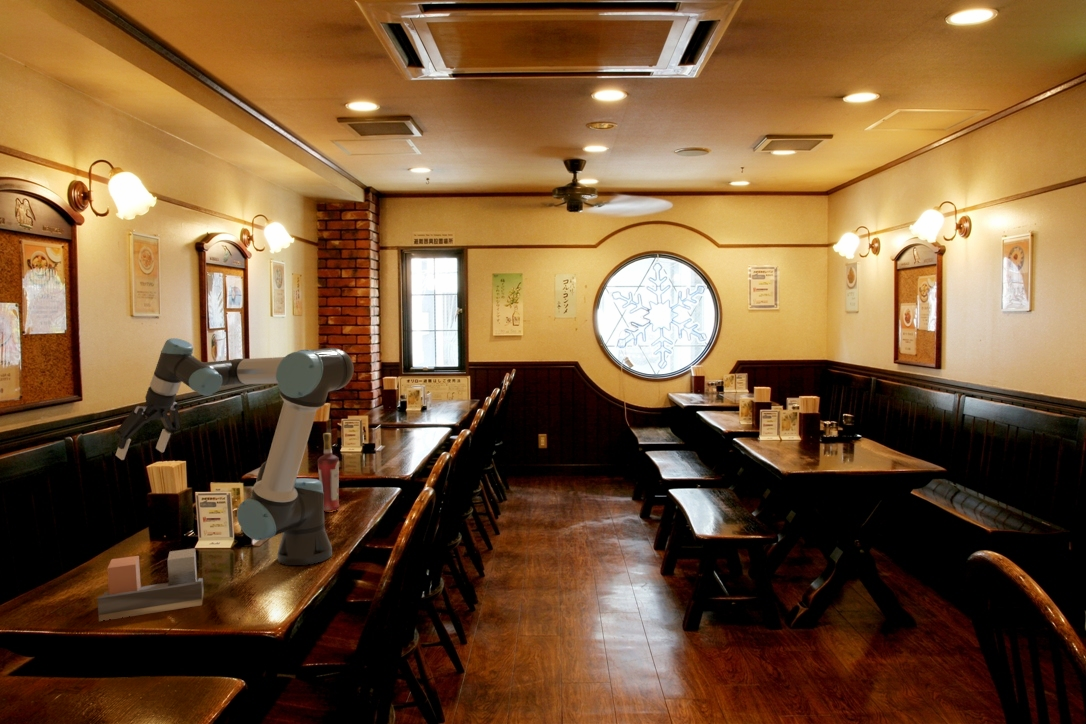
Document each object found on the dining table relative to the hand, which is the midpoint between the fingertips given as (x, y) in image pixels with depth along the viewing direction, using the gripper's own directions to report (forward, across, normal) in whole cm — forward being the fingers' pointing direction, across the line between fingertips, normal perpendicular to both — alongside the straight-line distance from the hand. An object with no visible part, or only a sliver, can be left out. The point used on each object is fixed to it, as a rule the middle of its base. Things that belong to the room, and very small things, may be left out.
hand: (140, 453), depth 216 cm
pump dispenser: (+30, -64, +5) cm, 71 cm away
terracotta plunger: (+16, +27, +36) cm, 48 cm away
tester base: (+14, +26, +44) cm, 52 cm away
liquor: (+16, -59, +33) cm, 69 cm away
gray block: (+11, +18, +44) cm, 49 cm away
